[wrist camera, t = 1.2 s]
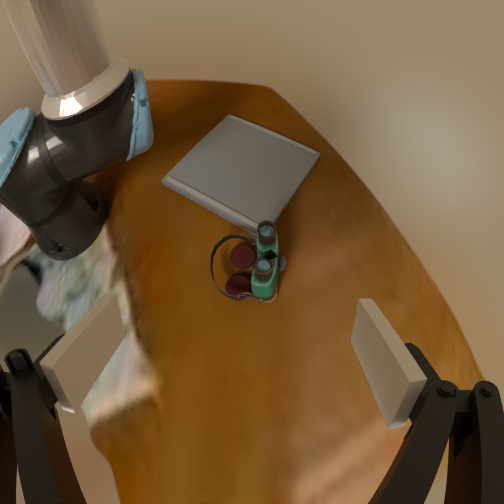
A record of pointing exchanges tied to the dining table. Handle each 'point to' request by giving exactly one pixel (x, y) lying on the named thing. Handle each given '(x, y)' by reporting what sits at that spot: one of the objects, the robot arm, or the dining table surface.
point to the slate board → (242, 172)
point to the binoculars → (255, 265)
